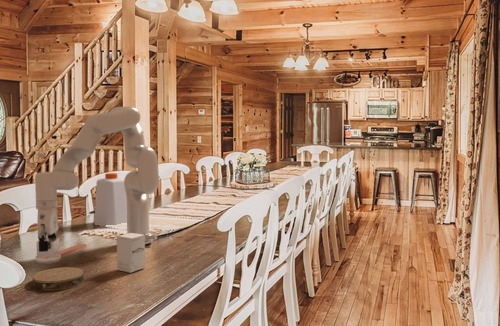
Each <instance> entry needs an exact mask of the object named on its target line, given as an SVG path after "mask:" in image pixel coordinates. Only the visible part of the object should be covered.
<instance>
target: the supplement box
mask: <svg viewBox="0 0 500 326" xmlns="http://www.w3.org/2000/svg"><path fill="white" fill-rule="evenodd" d="M145 268H146V244H145V235H143V234H136V233H129V234H127V233H125V234H120V235H117V236H116V269H117V271H121V272H126V273H130V274H131V273H133V272H136V271H138V270H139V271H140V270H143V269H145Z"/></svg>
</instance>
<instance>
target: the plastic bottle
mask: <svg viewBox="0 0 500 326" xmlns="http://www.w3.org/2000/svg"><path fill="white" fill-rule="evenodd" d="M104 176H105V177H104V178H100V179H99V178H98V179H97V180H96V188H95V189H96V190H95V207H94V208H95V209H94V210H95V213H94V225H95V226H97V225H101V226H100V227H102V226H106V225H117V224H121V223H126V222H127V200H126V192H125V187H124V180H125V178H122V177H118V173H116V172H110V173H109V172H108V173H105V174H104Z"/></svg>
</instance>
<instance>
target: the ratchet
mask: <svg viewBox="0 0 500 326" xmlns="http://www.w3.org/2000/svg"><path fill="white" fill-rule="evenodd" d="M86 248H87V243H86V244H85V243H78V244H74V245H73V246H70V247H67V248H64V249H60V253H59V254H58V255H57V256H55V257H44V258H37V255H35V264H38V265H52V264H56V263H58V262H60V261H62V258H64V257H66V256H68V255H71V254H74V253H75V252H78V251H80V250H83V249H86Z"/></svg>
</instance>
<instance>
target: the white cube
mask: <svg viewBox="0 0 500 326" xmlns="http://www.w3.org/2000/svg"><path fill="white" fill-rule="evenodd" d="M47 241H48V251H47V252H40V251H39V241H38V240H37V241H36V256H37V258H44V257H55V256H57V255H58V254H59V253H60V251H61V249H60V237H56V238H48V237H47Z"/></svg>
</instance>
